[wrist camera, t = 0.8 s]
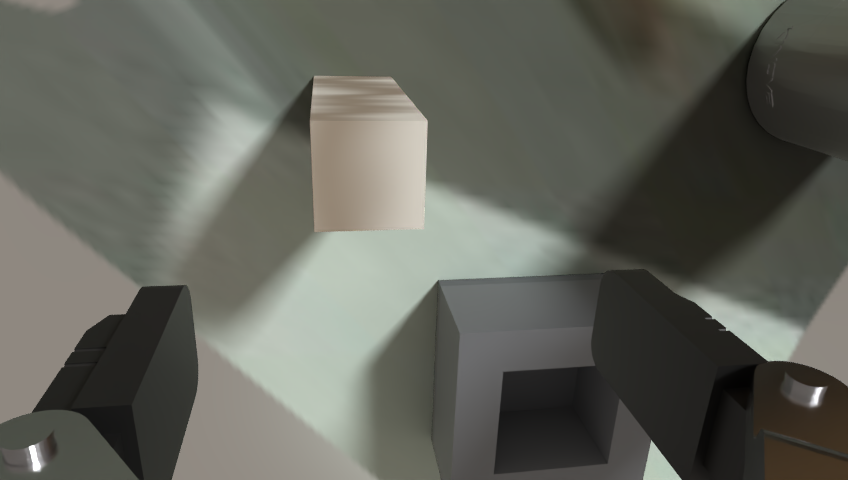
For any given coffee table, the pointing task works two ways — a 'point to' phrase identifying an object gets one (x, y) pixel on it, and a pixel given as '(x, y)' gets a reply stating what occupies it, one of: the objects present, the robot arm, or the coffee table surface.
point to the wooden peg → (366, 155)
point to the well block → (527, 385)
